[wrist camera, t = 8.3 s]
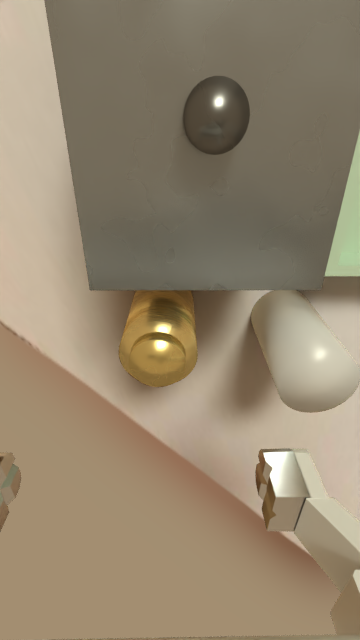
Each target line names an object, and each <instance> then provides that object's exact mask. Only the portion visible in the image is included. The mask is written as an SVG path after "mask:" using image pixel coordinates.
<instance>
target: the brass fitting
mask: <svg viewBox="0 0 360 640" xmlns="http://www.w3.org/2000/svg"><path fill="white" fill-rule="evenodd" d="M197 356H198V354H197V340H196V328H195V315H194V303H193V295H192V292H191V290H136V291H135V295H134V298H133V301H132V305H131V308H130V312H129V315H128V319H127V322H126V325H125V329H124V332H123V336H122V339H121V343H120V346H119V358H120V361H121V364H122V366H123V367H124V369H125V370H126V371H127V372H128V373H129V374H130V375H131V376H132V377H134V378H135V379H137V380H138V381H140V382H141V383H143V384H146V385H149V386H154V387H163V386H168V385H171V384H173V383H175V382H178V381H180V380H182V379H183V378H185V377H186V376H187V375H188V374H189V373H190V372H191V371H192V370H193V368H194V367H195V364H196V361H197Z"/></svg>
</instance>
